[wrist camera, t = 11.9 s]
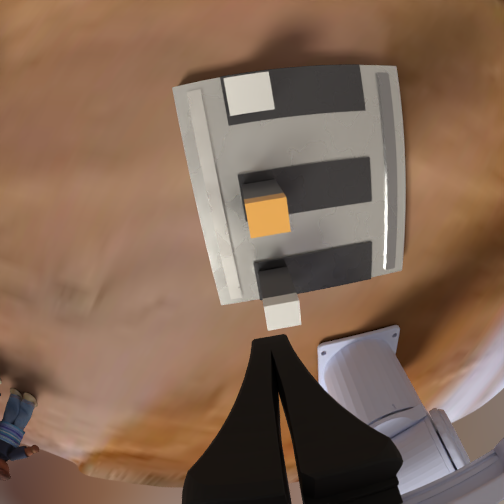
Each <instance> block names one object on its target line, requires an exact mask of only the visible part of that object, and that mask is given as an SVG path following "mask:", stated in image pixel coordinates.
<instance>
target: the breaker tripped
mask: <svg viewBox="0 0 504 504" xmlns="http://www.w3.org/2000/svg"><path fill="white" fill-rule="evenodd" d="M242 190H243V196H244V203H245V209H246V214H247V220H248V225H249V231H250V237H251V238H257V237H263V236H268V235H274V234H280V233H286V232H291V230H290V222H289V214H288V206H287V198H286V196H285V194H284V193H283V191H282V189H281V188H280V186H279V185H278V183H277V182H276V180H275V179H272V180H266V181H260V182H254V183H248V184H242Z"/></svg>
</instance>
